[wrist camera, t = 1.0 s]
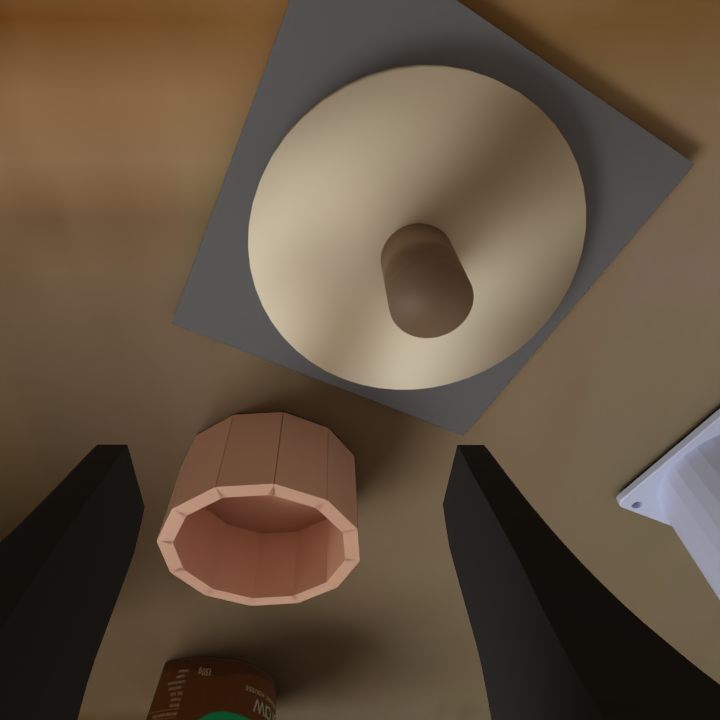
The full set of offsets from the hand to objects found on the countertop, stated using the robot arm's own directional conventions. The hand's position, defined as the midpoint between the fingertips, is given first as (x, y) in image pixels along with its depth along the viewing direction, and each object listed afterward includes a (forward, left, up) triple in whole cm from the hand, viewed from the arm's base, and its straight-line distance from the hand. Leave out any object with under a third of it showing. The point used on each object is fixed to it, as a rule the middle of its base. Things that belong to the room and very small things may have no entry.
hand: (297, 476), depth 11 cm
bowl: (-2, +10, -9) cm, 13 cm away
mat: (-2, -3, -9) cm, 10 cm away
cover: (-2, -3, -8) cm, 9 cm away
